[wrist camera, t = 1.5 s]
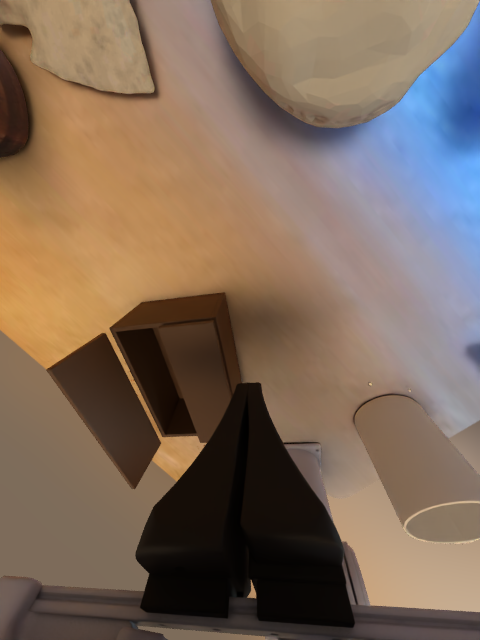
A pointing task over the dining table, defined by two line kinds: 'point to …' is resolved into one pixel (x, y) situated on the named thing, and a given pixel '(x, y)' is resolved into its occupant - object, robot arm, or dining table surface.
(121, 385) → the flap
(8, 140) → the mortar and pestle
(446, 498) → the mug
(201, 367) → the carton
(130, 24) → the arrowhead
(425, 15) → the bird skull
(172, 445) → the dining table surface
